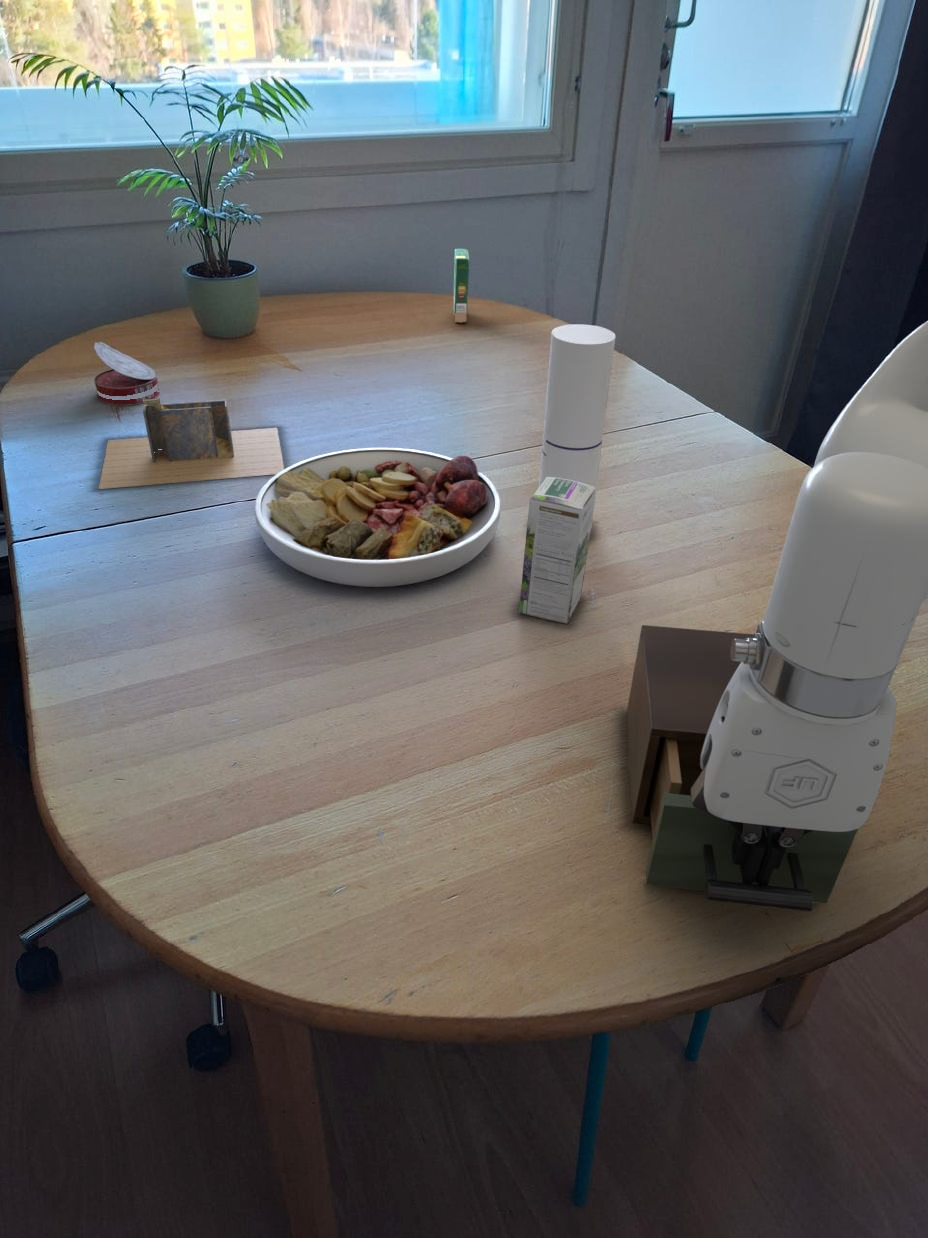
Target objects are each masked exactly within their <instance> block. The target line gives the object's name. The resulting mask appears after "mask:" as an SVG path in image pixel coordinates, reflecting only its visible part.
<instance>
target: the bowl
mask: <svg viewBox="0 0 928 1238" xmlns="http://www.w3.org/2000/svg"><path fill="white" fill-rule="evenodd" d="M501 503H502V502H501V497H500V493H499V492H498V490H497V487H496V486H495V485H494V484H493V482H492V481H491V480H490V479H489V477H487V476H486V475H485V474H483V473H482V472H481V471H479V470H478V467H477V465H476V463H475V461H474V460H473V459H472V458H471V457H469V456H466V455H459V456H455V457H453V458H452V457H450V456H445V455H443V454H439V453H435V452H429V451H424V450H418V449H410V448H401V447H400V448H399V447H365V448H363V447H362V448H353V449H346V450H345V449H344V450H337V451H333V452H328V453H324V454H320V455H317V456H313V457H310V458H307V459H305V460H301V461H299V462H296V463H294V464H292V465H290V466H288V467H285V468H284V470H283V471H281V472H279V473H278V474H274V475H273V476H272V477H271V478H270V479H268V481H266V482H265V484H264V485H263V486H262V487H261V489H260V491H259V492H258V493H257V496H256V497H255V501H254V517H255V522H256V526H257V530H258V532H259V534H260V536H261V538H262V540H263V542H264V543H265V544H266V546H267V547H268V548H269V550H271V552H272V553H273V554H274V555H275V556H276V557H277V558H278V559H280V560H281V561H282V562H284V563H285V564H287V565H288V566H290V567H292V568H293V569H295V570H296V571H299V572H300V573H303V574H305V575H307V576H310V577H313V578H316V579H319V580H321V581H326V582H330V583H334V584H339V585H344V586H351V587H353V586H354V587H366V588H384V587H385V588H386V587H397V586H406V585H411V584H412V585H413V584H418V583H421V582H422V583H423V582H426V581H430V580H432V579H436V578H439V577H442V576H445V575H447V574H449V573H451V572H453V571H455V570H458V569H460V568H461V567H464V566H465V565H467V564H468V563H469V562H471V561H472V560H474V559H475V558H476V557H477V556H478V555H480V553H482V551H484V549H485V548H486V547H487V546H488V544H489V543H490V542H491V540H492V539H493V537H494V535H495V533H496V531H497V529H498V525H499V522H500V517H501V507H502V506H501V505H502V504H501Z"/></svg>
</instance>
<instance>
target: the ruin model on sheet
mask: <svg viewBox="0 0 928 1238" xmlns="http://www.w3.org/2000/svg"><path fill="white" fill-rule="evenodd" d="M142 400H143V399H142ZM142 404H143V409H142V415H143V419H144V424H145V429H146V434H147V436H146V437H145V436H144V437H132V438H117V439H108V440H107V442H106V443H107V444H106V449H105V453H104V460H103V464H102V470H101V475H100V479H99V485H98V490H105V489H106V490H107V489H118V488H119V489H120V488H131V487H142V486H153V485H165V484H167V485H168V484H176V483H178V484H179V483H188V482H202V481H210V480H212V481H214V480H223V479H225V480H226V479H236V478H248V477H260V476H261V477H262V476H271V475H272V476H274V475H276V474H278V473H279V472H281V471H283V470H284V469H285V464H284V463H285V462H284V458H283V453H282V447H281V441H280V436H279V430H278V427H268V428H256V429H255V428H254V429H240V430H232V427H231V421H230V414H229V413H230V412H229V406H228V405H229V404H228V400H227V399H218V400H215V399H214V400H201V401H200V400H199V401H186V402H185V401H184V402H172V403H161V399H160V397H156V398H155V399H150V400H143V403H142ZM158 449H162V450H158ZM154 452H155V453H154Z"/></svg>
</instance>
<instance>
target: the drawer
mask: <svg viewBox="0 0 928 1238" xmlns="http://www.w3.org/2000/svg"><path fill="white" fill-rule="evenodd" d="M704 742H705V741H701V740H691V739H680V738H669V737H660V741H659V746H658V750H657V755H656V760H655V765H654V769H653V774H652V779H651V784H650V788H649V802H650V814H651V824H650V825H651V826H650V827H651V837H652V841H651V845H650V849H649V854H648V857H647V858H648V859H647V863H646V868H645V871H644V872H645V873H644V874H645V884H646V885H649V886H659V887H666V888H668V887H669V888H674V889H675V888H678V889H686V890H695V891H703V892H704V898H705V900H706V901H708V902H709V901H710V902H718V903H728V904H738V905H748V906H757V907H765V908H766V907H767V908H775V909H784V910H793V911H803V912H811V911H813V908H814V903H817V904H824V905H826V904H827V903H828V901H829V899H830V897H831V894H832V892H833V890H834V887H835V885H836V882H837V880H838V878H839V875H840V873H841V871H842V868H843V866H844V864H845V861H846V859H847V857H848V854H849V852H850V850H851V847H852V845H853V843H854V840H855V839H856V836H857V833H858V831H859V828H858V829H855V830H852V831H846V832H832V831H819V830H813V831H811V832H809V833H806V834H804V835H802V836H801V838H800V839H799V841H798V842H797V844H796V845H795V846H793V847H790V848H786V851H785V853H784V856H783V859H782V861H781V864H780V867H779V869H773V872H772V874H771V877H770V880H769V883H768V885H759V884H758V883H756V881H755V882H754V883H753V882H752V884H748V883H743V881H742V875H741V870H740V865H735V864H733V860H732V844H733V841H734V838H735V835H736V831H737V829H736V828H735V827H734V826H733V825H732V824H731V823H730V822H729V821H728V820H725V819H721V818H719V817H717V816H714V815H713V814H711V813H710V812H708V811H704V810H701V809H697V808H695V807H694V806H693V804H692V798H691V791H690V790H691V788H692V786H693V785H694V783H695V782H696V780H697V779H698V777H699V775H700V774H701V772H702V771H703V770H702V769H701V767H700V758H701V753H702V749H703V745H704Z"/></svg>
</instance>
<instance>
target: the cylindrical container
mask: <svg viewBox="0 0 928 1238" xmlns="http://www.w3.org/2000/svg"><path fill="white" fill-rule="evenodd" d="M616 337H617V336H616V333H614V332H613V331H612V330H610V329H608V328H607V327H606V328H605V327H603V326H598V325H593V324H583V323H581V324H580V323H574V324H573V323H572V324H564V325H560V326H557V327H555V328H553V329H552V331H551V335H550V349H549V360H548V374H547V385H546V395H545V396H546V399H545V409H544V421H543V433H542V445H541V455H540V456H541V458H540V470H539V482H538V488H539V487H540V485H541V484H542V483H543V481H544V480H545V479H546V477H555V478H562V479H568V480H573V481H577V482H581V483H584V484H587V485H590V486H593V487H595V488H597V487H598V478H599V471H600V463H601V455H602V448H603V439H604V431H605V423H606V415H607V408H608V399H609V391H610V384H611V375H612V369H613V362H614V361H613V359H614V353H615V344H616ZM595 503H596V501H595V502H594V504H595ZM594 510H595V508H594V509H593V512H594ZM593 519H594V516H593V517H592V520H593ZM592 527H593V523H592V524H591V529H592ZM591 533H592V531H591V532H590V534H591Z"/></svg>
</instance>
